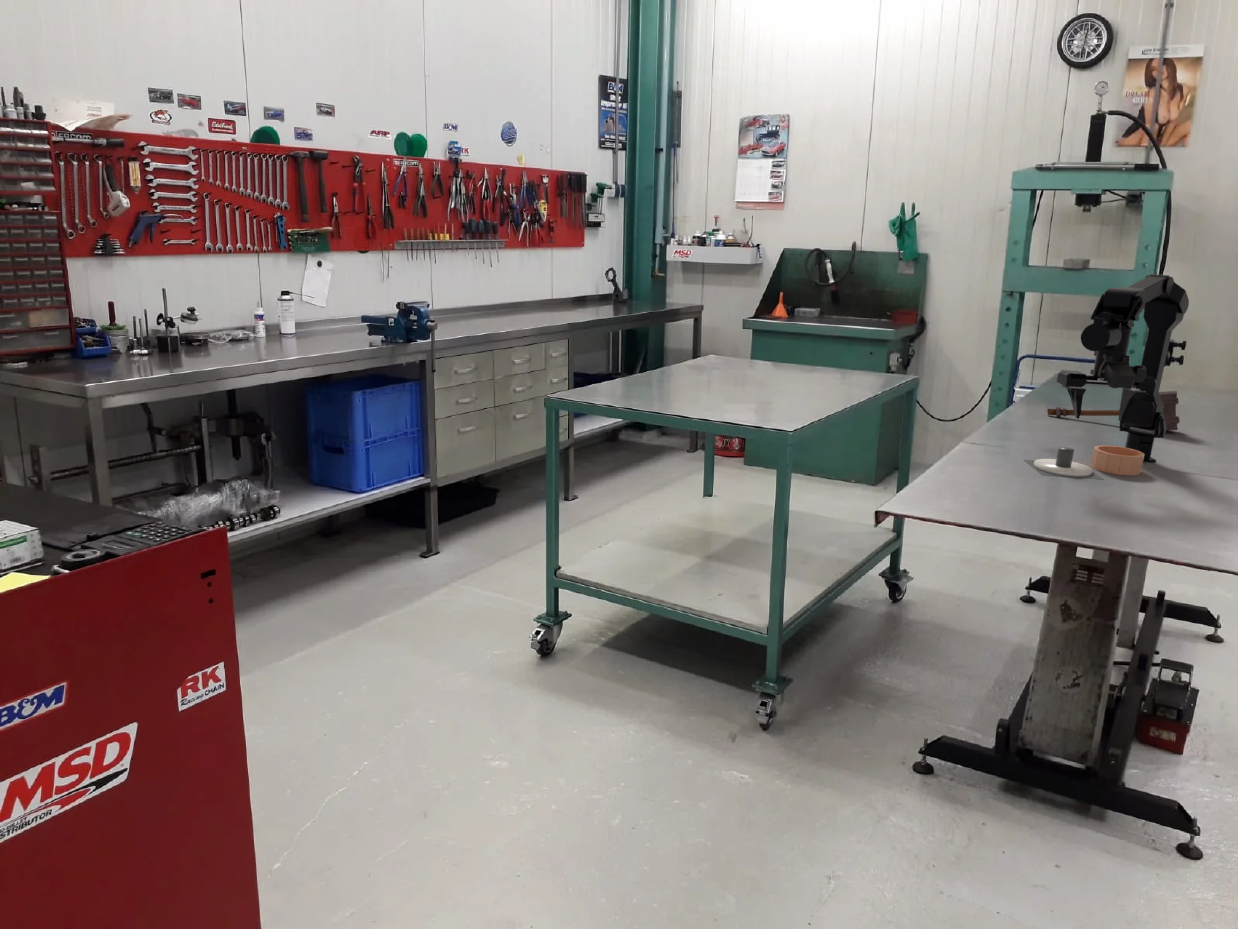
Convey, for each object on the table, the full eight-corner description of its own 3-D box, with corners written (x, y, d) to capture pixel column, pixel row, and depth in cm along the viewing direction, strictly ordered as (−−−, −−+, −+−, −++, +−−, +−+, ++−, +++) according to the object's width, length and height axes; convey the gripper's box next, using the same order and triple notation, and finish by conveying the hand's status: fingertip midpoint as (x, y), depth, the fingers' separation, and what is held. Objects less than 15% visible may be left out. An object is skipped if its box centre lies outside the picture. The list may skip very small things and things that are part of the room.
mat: (1023, 460, 211) (1023, 459, 211) (1081, 464, 210) (1081, 463, 210) (1041, 476, 199) (1042, 474, 199) (1103, 480, 198) (1104, 479, 198)
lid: (1026, 460, 211) (1029, 440, 209) (1080, 464, 210) (1084, 444, 208) (1043, 474, 199) (1047, 453, 198) (1100, 478, 198) (1104, 457, 197)
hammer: (1179, 430, 246) (1179, 393, 244) (1047, 435, 263) (1045, 400, 261) (1179, 425, 252) (1178, 390, 250) (1049, 430, 268) (1047, 397, 267)
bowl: (1084, 462, 212) (1087, 444, 211) (1128, 465, 211) (1132, 447, 210) (1101, 474, 203) (1104, 454, 201) (1147, 477, 202) (1151, 458, 201)
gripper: (1083, 351, 187) (1069, 425, 191) (1177, 356, 186) (1161, 430, 190) (1062, 344, 197) (1049, 414, 202) (1150, 349, 196) (1136, 419, 200)
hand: (1098, 419), depth 198 cm, fingers open, 9 cm apart
